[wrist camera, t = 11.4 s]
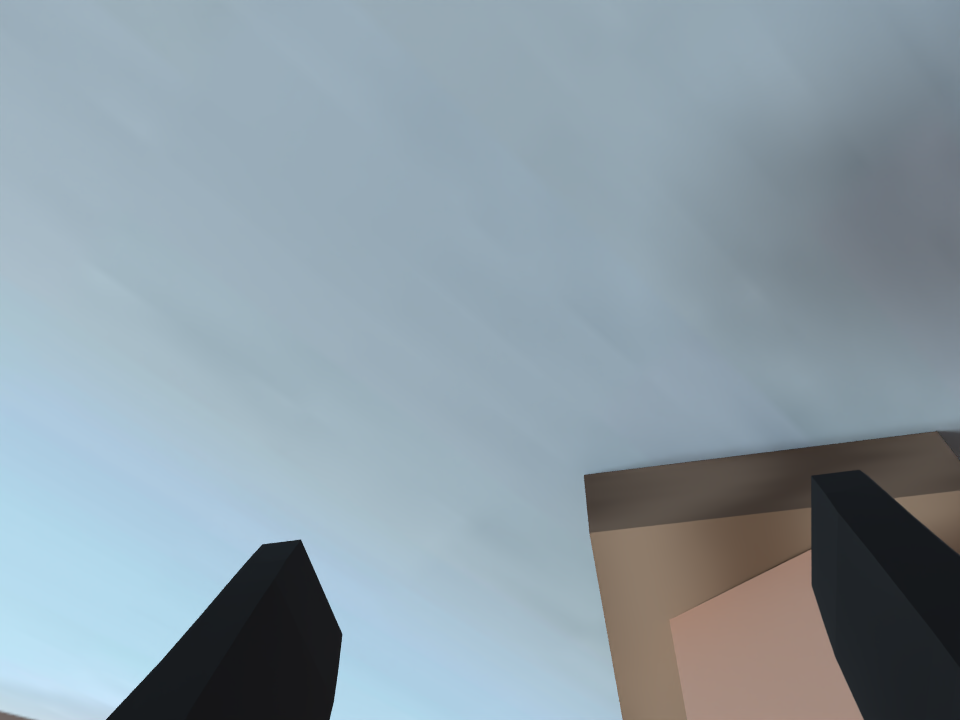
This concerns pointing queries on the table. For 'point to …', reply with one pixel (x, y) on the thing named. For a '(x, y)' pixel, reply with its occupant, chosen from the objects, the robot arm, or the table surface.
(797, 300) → the table surface
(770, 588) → the terracotta cube
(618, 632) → the walnut base block
